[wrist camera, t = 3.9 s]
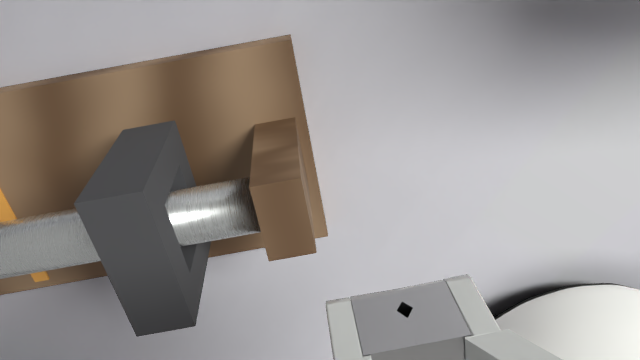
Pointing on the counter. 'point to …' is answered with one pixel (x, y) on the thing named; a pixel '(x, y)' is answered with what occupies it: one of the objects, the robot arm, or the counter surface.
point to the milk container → (580, 322)
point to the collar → (145, 228)
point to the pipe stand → (200, 147)
